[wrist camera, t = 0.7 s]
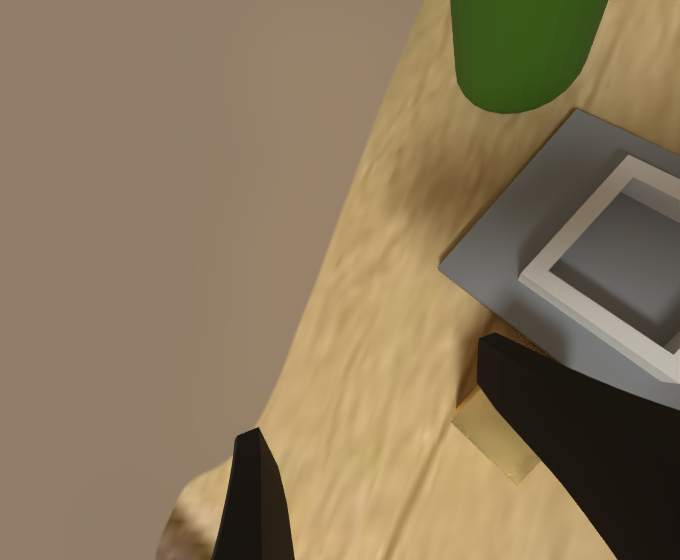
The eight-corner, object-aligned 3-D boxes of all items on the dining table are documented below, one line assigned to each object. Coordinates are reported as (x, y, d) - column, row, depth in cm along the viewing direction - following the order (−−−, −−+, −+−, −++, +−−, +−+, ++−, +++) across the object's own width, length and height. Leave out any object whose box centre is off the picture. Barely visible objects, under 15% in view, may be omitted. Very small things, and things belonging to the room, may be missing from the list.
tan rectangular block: (563, 398, 22) (589, 410, 17) (507, 457, 22) (516, 485, 17) (507, 352, 23) (515, 351, 18) (456, 408, 24) (450, 421, 19)
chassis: (911, 276, 18) (991, 261, 15) (706, 477, 19) (744, 497, 16) (573, 118, 25) (584, 88, 22) (438, 270, 26) (434, 259, 23)
